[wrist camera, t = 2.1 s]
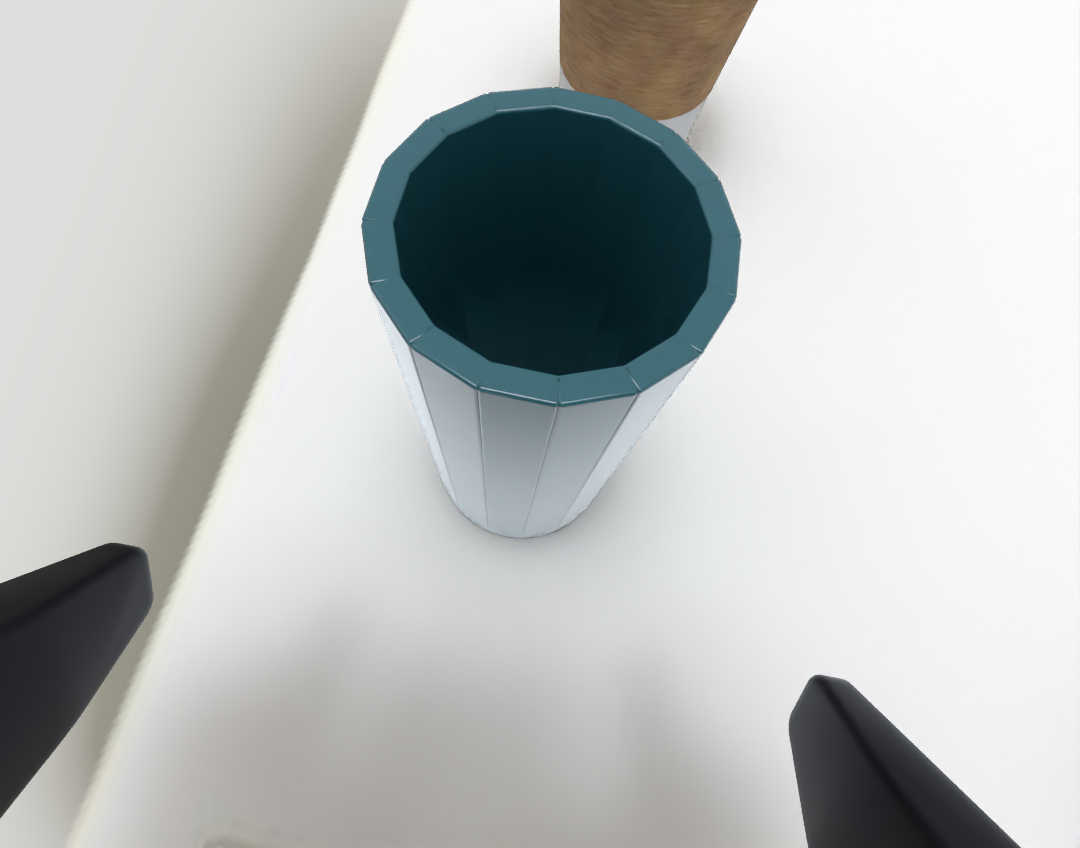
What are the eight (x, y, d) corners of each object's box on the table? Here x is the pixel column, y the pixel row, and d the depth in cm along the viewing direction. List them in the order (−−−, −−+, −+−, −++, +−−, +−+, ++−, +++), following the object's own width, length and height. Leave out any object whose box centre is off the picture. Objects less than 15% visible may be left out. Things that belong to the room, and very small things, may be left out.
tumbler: (544, 572, 20) (621, 483, 8) (407, 477, 21) (279, 261, 9) (630, 438, 22) (800, 198, 10) (501, 355, 23) (507, 37, 10)
